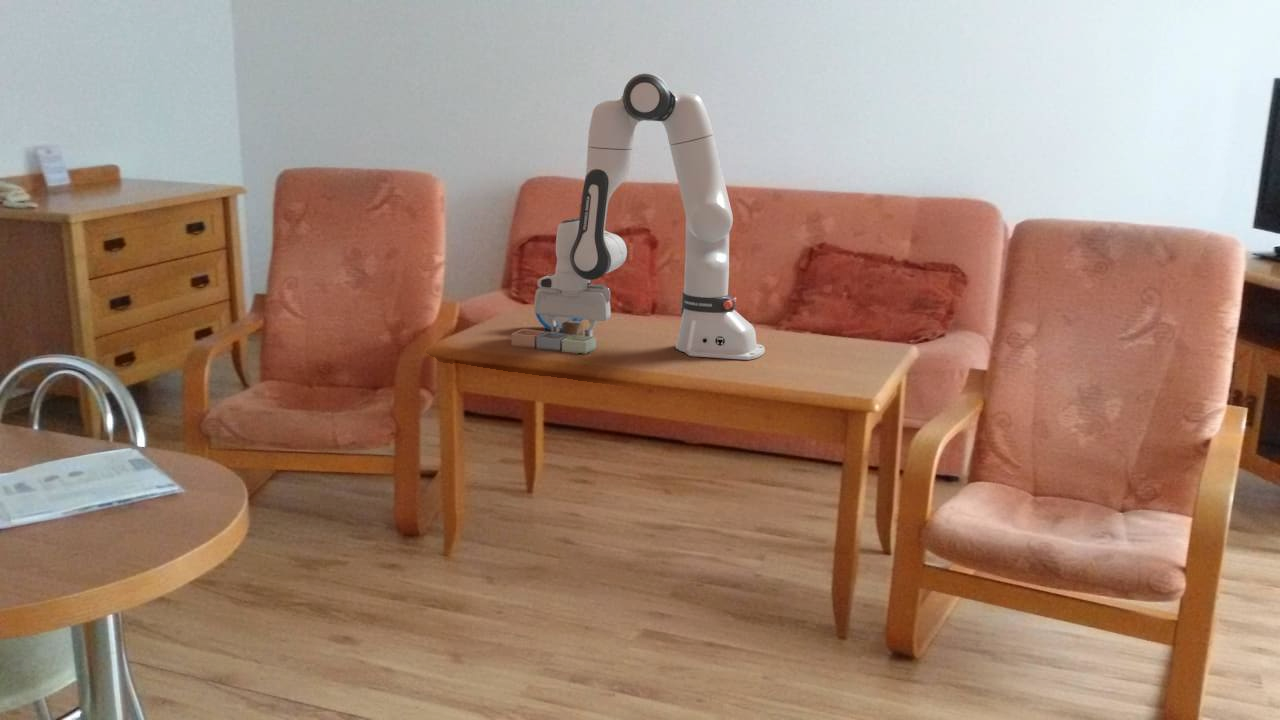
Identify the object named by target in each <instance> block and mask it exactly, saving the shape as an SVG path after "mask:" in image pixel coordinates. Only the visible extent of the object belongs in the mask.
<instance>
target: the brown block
mask: <svg viewBox="0 0 1280 720" xmlns="http://www.w3.org/2000/svg"><path fill="white" fill-rule="evenodd" d="M583 324H584V322H583V321H581V322H579V321H570V320H568V321H566V322H564V323H562V332H561V333H564V334H571V335H581V336H584V334H583V330H584V327H583V326H584V325H583Z"/></svg>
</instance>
